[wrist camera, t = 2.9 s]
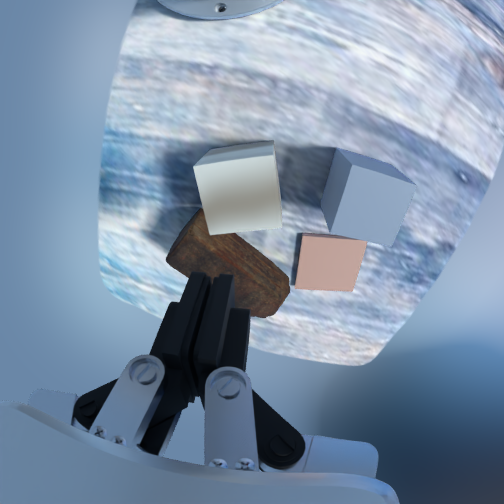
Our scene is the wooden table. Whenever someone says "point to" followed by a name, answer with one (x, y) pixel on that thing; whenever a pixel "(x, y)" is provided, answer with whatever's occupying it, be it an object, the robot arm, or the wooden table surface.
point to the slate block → (365, 198)
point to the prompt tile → (329, 262)
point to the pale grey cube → (240, 188)
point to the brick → (230, 266)
